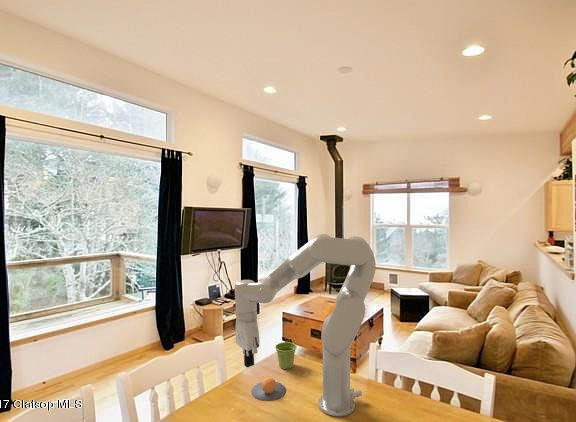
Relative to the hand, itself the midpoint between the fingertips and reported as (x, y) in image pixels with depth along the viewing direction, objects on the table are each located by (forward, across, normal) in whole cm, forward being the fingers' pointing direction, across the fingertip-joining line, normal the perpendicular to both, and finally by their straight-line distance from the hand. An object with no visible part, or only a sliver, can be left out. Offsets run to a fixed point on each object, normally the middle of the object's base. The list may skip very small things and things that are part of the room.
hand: (249, 365), depth 121 cm
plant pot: (+13, -13, +25) cm, 31 cm away
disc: (+13, -1, +8) cm, 15 cm away
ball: (+10, 0, +8) cm, 13 cm away
